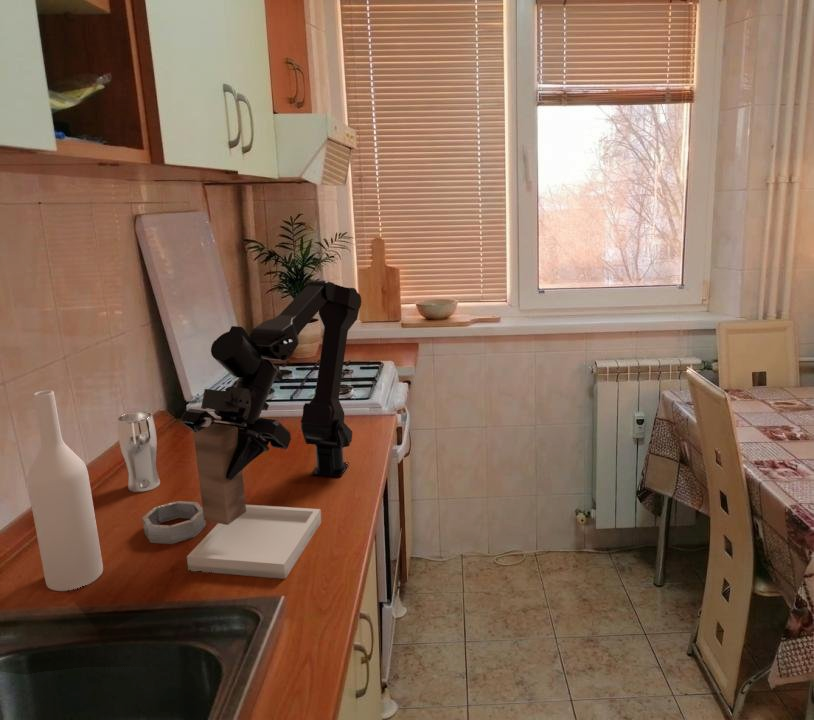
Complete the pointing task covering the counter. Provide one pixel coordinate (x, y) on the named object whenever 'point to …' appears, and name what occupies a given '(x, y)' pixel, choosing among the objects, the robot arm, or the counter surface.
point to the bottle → (62, 506)
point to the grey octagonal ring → (175, 531)
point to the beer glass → (139, 449)
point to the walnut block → (219, 474)
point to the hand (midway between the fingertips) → (215, 476)
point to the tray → (257, 542)
